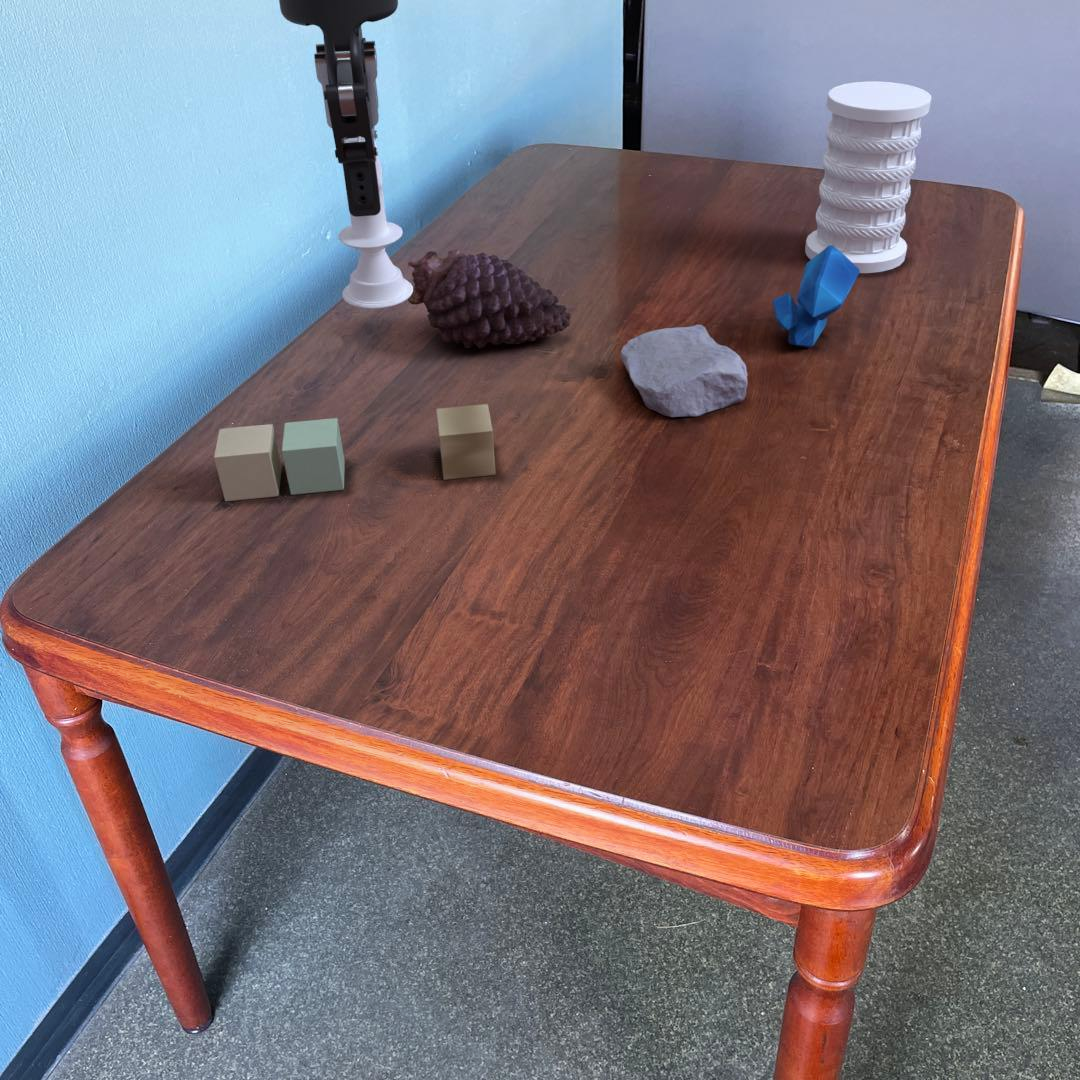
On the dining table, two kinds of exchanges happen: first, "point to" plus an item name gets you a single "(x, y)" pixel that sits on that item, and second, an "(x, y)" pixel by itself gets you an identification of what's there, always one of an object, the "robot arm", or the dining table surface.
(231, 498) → the block
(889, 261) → the decorative container
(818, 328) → the crystal
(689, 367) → the stone block
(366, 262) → the candle
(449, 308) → the pine cone
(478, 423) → the block
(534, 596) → the dining table surface
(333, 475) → the block
